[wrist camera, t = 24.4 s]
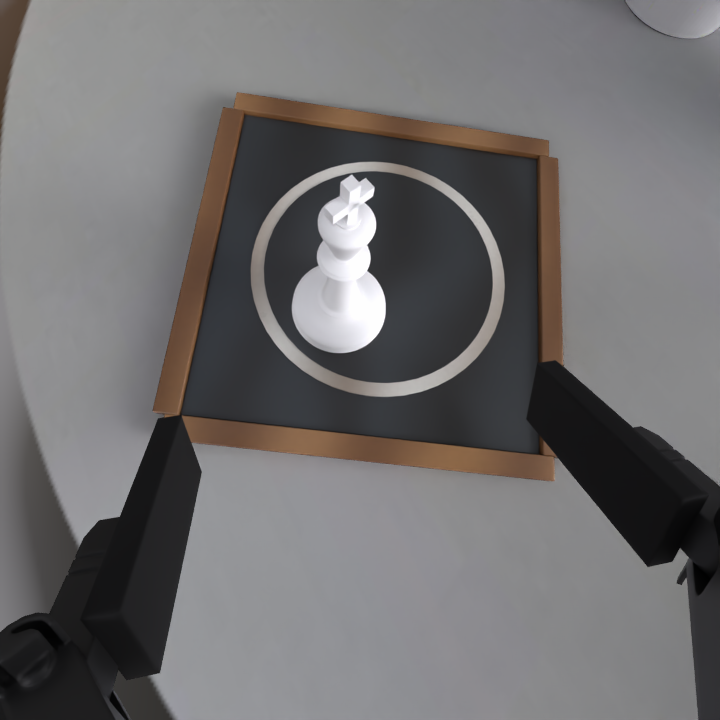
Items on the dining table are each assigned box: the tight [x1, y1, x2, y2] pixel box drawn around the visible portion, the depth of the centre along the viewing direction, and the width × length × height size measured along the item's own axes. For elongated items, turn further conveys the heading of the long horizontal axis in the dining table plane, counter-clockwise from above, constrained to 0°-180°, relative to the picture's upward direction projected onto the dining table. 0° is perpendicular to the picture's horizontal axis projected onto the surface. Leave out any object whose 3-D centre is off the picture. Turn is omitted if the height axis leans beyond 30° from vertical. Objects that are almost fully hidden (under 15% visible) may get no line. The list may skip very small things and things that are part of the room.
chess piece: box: [292, 175, 386, 353], centre depth 17 cm, size 5×5×10 cm
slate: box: [153, 92, 563, 481], centre depth 23 cm, size 20×20×1 cm
